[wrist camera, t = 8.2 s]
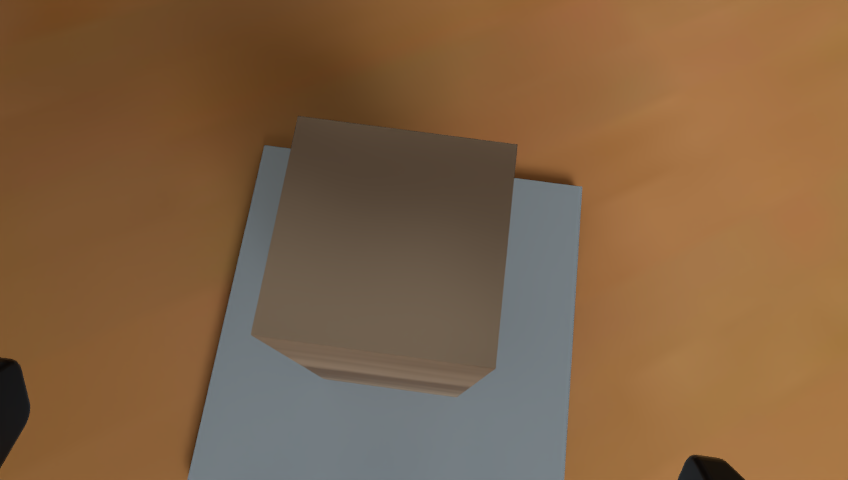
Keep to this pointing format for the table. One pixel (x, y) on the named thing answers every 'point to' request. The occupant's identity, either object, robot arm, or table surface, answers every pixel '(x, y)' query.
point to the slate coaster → (392, 408)
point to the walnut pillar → (389, 256)
